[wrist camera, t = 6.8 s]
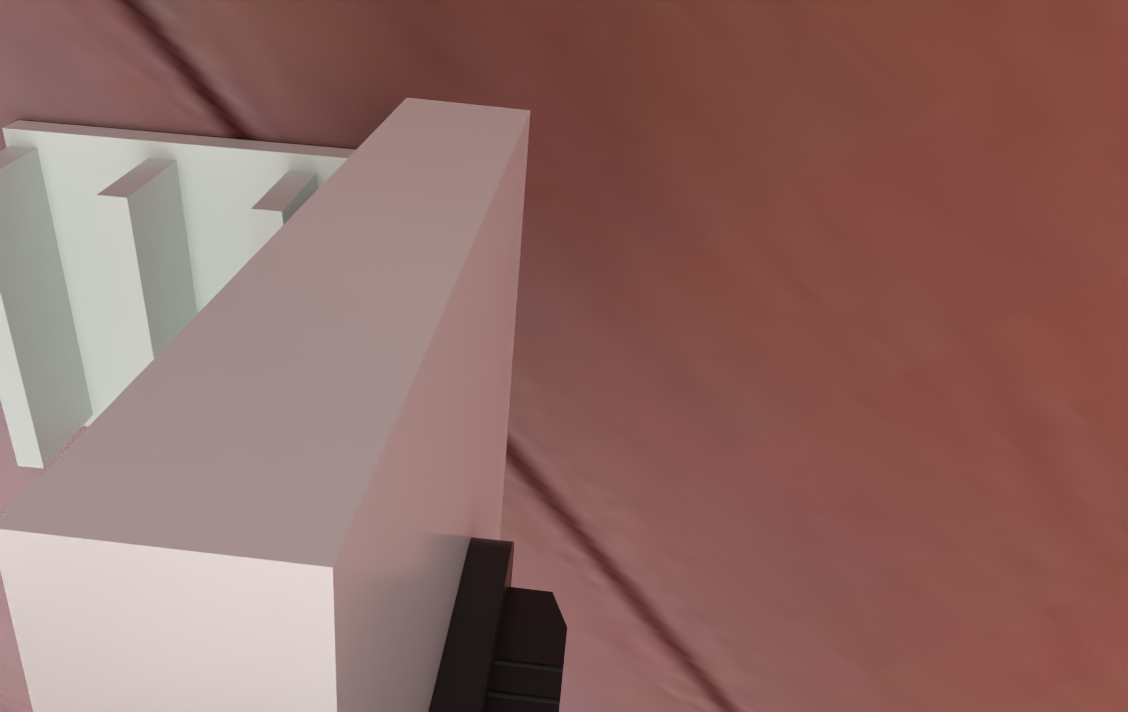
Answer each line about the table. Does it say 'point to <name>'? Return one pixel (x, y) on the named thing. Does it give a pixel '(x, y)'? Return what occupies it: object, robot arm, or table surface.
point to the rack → (122, 256)
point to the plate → (296, 454)
